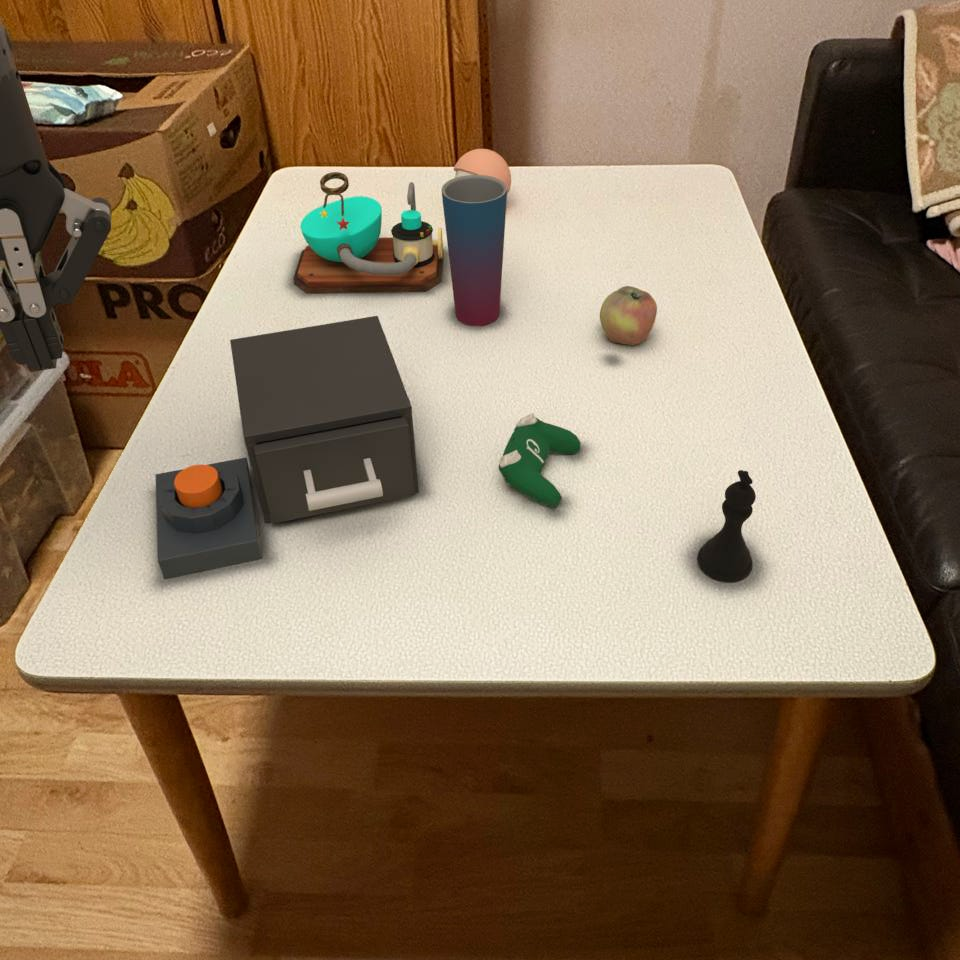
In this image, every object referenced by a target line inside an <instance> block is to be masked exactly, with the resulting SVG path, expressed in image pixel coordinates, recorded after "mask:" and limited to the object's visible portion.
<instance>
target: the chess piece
mask: <svg viewBox="0 0 960 960" xmlns="http://www.w3.org/2000/svg"><path fill="white" fill-rule="evenodd" d="M737 475H738V477H739V480H738V481H734V482H733V483H731V484H730V485H728V486H727V487H726V488H725V491H724V498H725V499H724V501H723V502H722V504H721V510H722V514H723V516H724V524H723V526H722V528H721V529H720V530H719V531H718V532H717V533H716V534H715V535H713V536H712V537H711V538H710V539H708V540H707V541H706V542H705V543H704V544H703V545H702V546H701V547H700V548H699V550H698V552H697V555H696V556H697V558H696V560H697V564H698V566H699V568H700V570H701V572H703V573H704V574H705V575H706V576H708V577H709V578H711V579H712V580H716V581H719V582H724V583H735V582H739V581H742V580H744V579H746V578H747V577H748V576H749V575H750V574H751V572H752V570H753V564H754V563H753V558H752V555H751V552H750V550H749V547H748V546H747V545H746V541H745V539H744V536H743V531H742V529H743V525H744V523H745V522H746V521H747V520H748V519H749V518H750V517H751V516H752V514H753V509H754V508H753V504H754V503H755V502H756V497H757V495H756V492H755V489H754V488H753V486H752V485H753V482H754V481H753V479H752V478H751V476H750V475H749V471H748V470H743V469H740V470H738V471H737Z"/></svg>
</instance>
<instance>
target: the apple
mask: <svg viewBox="0 0 960 960" xmlns="http://www.w3.org/2000/svg"><path fill="white" fill-rule="evenodd" d="M657 314H658V305H657V302H656V300H655V299H654V297H653V296H652V295H651V294H650V292H647V291H646V290H642V289H639V288H637V287H635V286H631V285H625V286H621V287H620V288H618V289H617V290H613V292H611V293H609V294H608V296H606V297H605V299H604V301H602V304H601V307H600V309H599V322H600V324H601V327H602V330H603V332H604V334H605V336H606V337H607V338H608V339H609V340H610V341H611V342H614V343H617V344H623V345H629V346H635V345H637V344H639V343H641V342H644V341H645V340H647V338H648V337H649V335H650V333H651V331H652V329H653V327H654V324H655V321H656V318H657Z"/></svg>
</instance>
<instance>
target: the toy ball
mask: <svg viewBox="0 0 960 960" xmlns="http://www.w3.org/2000/svg"><path fill="white" fill-rule="evenodd" d="M453 171H454V172H455V175H454V178H457V177H460V176H466V175H486V176H491V177H495V178H497V179H500V180H501V181H503V182H504V183H505V184H506V186H507V195H508V194H509V193H510V191H511V187H512V173H511V170H510V167H509V164H508V163H507V161H506V160H505V159H504V158H503V157H502V156H501V155H500V154H499V153H498V152H496V151H494V150H491V149H488V148H475V149H472V150H469V151H467V152H466V153H464V154H463V155H462V156H460V158H459V159H458V160H457V162H456V163H455V165H454V167H453Z"/></svg>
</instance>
